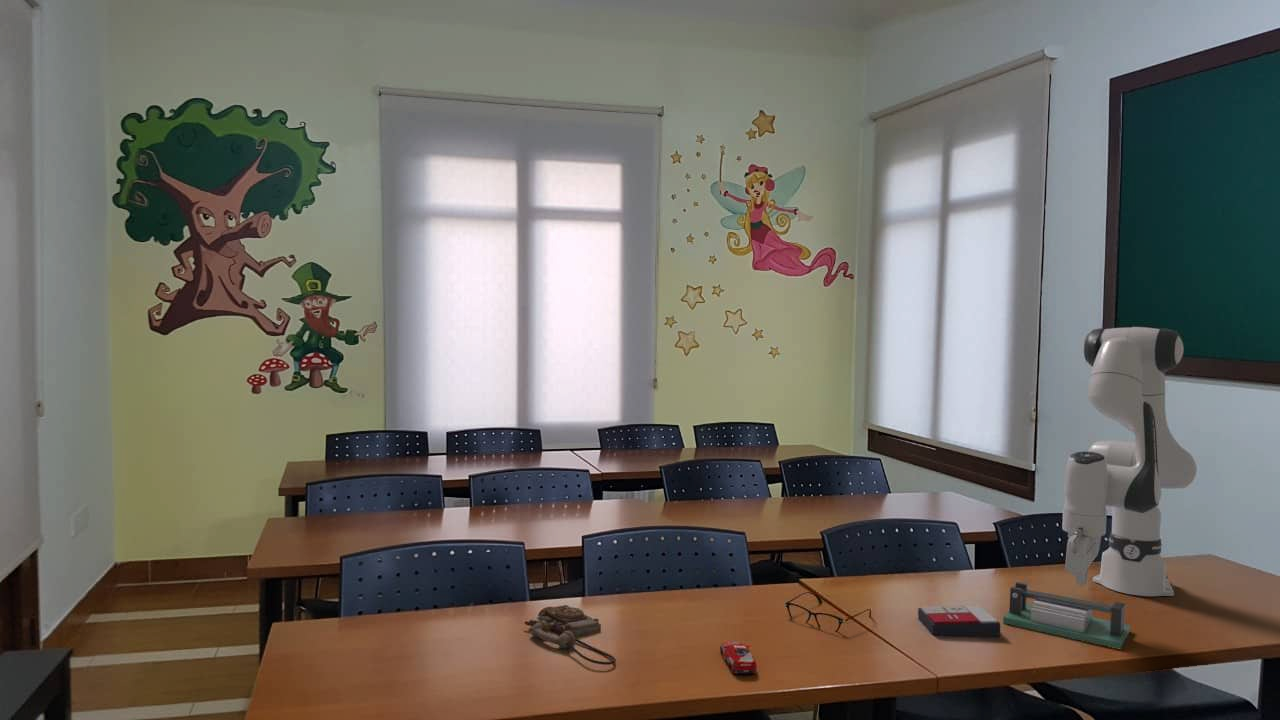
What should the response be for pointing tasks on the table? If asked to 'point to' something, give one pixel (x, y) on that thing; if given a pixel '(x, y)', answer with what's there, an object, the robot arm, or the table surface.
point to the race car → (738, 657)
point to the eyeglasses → (819, 613)
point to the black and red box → (959, 621)
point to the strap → (1067, 601)
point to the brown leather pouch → (566, 628)
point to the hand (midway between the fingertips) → (1081, 583)
